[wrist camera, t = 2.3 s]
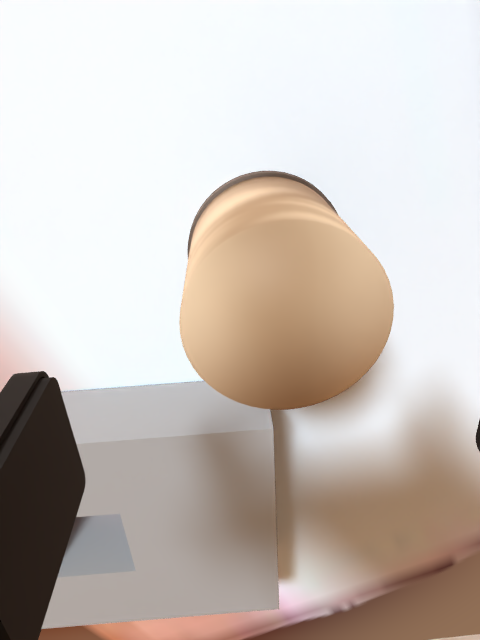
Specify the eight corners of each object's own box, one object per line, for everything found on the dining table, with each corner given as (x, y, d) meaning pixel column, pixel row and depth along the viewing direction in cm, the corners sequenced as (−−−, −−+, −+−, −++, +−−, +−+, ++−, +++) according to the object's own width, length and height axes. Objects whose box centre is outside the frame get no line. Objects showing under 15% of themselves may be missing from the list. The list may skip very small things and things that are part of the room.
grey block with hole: (264, 376, 23) (273, 428, 20) (271, 547, 30) (279, 609, 27) (-120, 405, 23) (-181, 464, 20) (-28, 571, 30) (-61, 637, 26)
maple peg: (326, 152, 18) (410, 207, 10) (322, 282, 21) (386, 404, 13) (185, 162, 18) (160, 225, 10) (199, 291, 21) (189, 419, 13)
